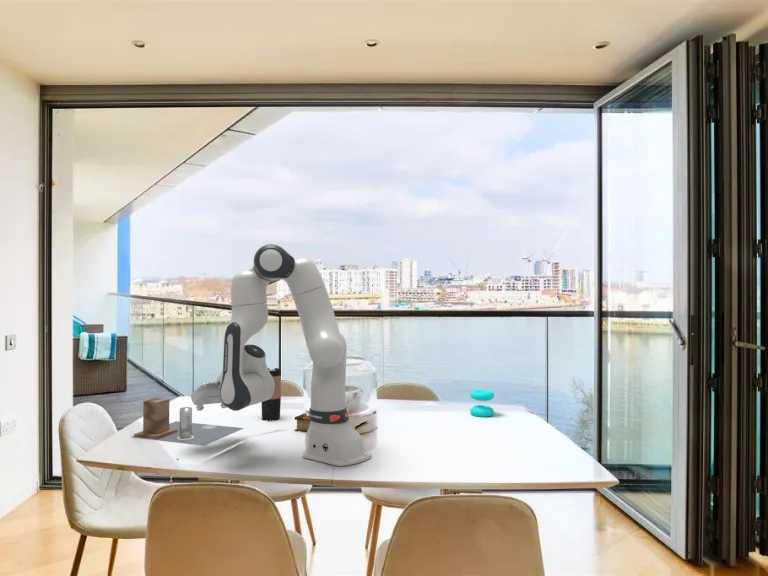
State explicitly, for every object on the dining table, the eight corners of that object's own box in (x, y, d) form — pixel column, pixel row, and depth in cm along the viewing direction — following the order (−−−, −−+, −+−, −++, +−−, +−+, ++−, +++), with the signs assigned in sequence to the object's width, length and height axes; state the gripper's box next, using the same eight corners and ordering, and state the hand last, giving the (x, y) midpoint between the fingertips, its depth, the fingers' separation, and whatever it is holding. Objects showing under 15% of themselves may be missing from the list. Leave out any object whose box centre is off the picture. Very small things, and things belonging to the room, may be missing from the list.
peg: (193, 437, 190) (194, 408, 190) (182, 439, 187) (183, 410, 187) (188, 435, 193) (188, 406, 193) (177, 437, 190) (177, 408, 190)
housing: (177, 432, 197) (177, 398, 197) (158, 439, 187) (158, 404, 187) (154, 429, 200) (154, 396, 200) (134, 436, 190) (134, 401, 190)
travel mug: (270, 422, 217) (270, 371, 217) (257, 419, 221) (257, 369, 221) (284, 418, 223) (285, 369, 223) (271, 415, 227) (272, 367, 227)
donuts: (495, 390, 237) (492, 394, 227) (495, 413, 237) (492, 418, 227) (472, 388, 240) (468, 392, 230) (472, 411, 240) (468, 416, 230)
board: (244, 430, 203) (244, 428, 203) (204, 448, 181) (204, 445, 181) (176, 423, 212) (176, 421, 212) (129, 440, 190) (129, 437, 190)
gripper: (206, 391, 171) (186, 418, 176) (259, 387, 187) (239, 412, 192) (199, 375, 174) (179, 402, 179) (252, 373, 190) (232, 398, 195)
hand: (211, 407), depth 186 cm, fingers open, 8 cm apart
